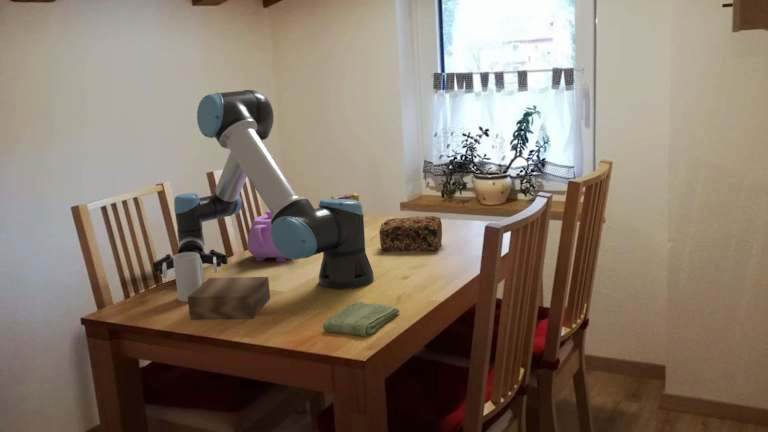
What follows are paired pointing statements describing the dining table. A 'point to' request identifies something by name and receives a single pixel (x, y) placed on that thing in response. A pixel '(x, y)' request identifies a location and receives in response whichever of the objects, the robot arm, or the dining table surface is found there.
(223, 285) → the walnut block
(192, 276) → the mug
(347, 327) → the washcloth
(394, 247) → the bread
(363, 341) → the dining table surface
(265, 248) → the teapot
